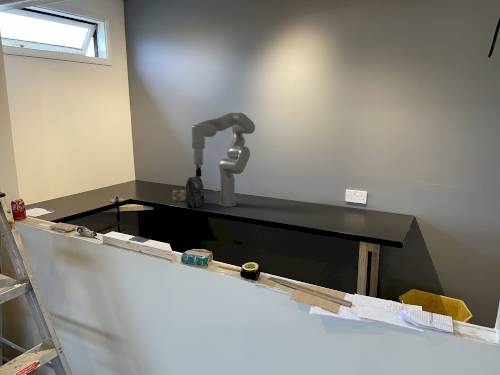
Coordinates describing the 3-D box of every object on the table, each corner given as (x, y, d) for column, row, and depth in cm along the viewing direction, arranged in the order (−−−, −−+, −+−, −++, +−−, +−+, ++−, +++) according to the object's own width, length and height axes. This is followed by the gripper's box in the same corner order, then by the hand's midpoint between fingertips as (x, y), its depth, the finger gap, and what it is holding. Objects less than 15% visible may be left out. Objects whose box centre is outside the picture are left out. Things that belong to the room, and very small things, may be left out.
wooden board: (201, 199, 252) (201, 189, 251) (201, 199, 251) (201, 190, 249) (173, 200, 248) (172, 190, 246) (173, 201, 246) (172, 191, 244)
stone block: (195, 209, 226) (195, 179, 222) (183, 208, 229) (183, 178, 225) (208, 202, 243) (207, 174, 239) (196, 201, 246) (196, 173, 242)
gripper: (191, 144, 213) (191, 174, 217) (193, 147, 199) (193, 178, 203) (203, 144, 215) (203, 174, 219) (206, 147, 201) (206, 178, 205)
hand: (198, 176), depth 211 cm, fingers closed
